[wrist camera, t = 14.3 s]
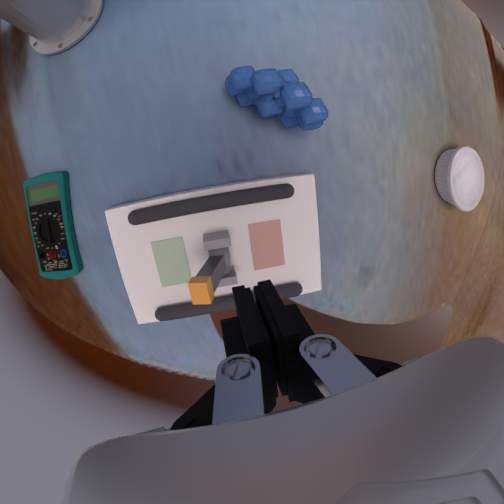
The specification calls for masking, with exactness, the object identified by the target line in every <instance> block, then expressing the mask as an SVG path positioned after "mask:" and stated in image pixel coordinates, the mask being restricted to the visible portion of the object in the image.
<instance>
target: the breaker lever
mask: <svg viewBox="0 0 504 504" xmlns="http://www.w3.org/2000/svg"><path fill="white" fill-rule="evenodd" d="M208 253H209V258H208V259H207V261H206V262H205V263H204V265H203V266H202V268H201V269H200V271H199V272H198V273H197V275H196V276H195V277H192V278H191V279H190V281H189V282H188V287H189V291H190V295H191V299H192V303H193V305H197V304H211V303H212V301H213V299H214V297H215V295H214V293H215V291H216V289H217V287H218V285H219V283H220V281H221V279H222V277H223V275H225V274H228V273H230V272H231V271H232V264H231V258H230V252H229V247H224V248H219V249H213V250H208Z"/></svg>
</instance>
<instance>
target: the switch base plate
mask: <svg viewBox="0 0 504 504" xmlns="http://www.w3.org/2000/svg"><path fill="white" fill-rule="evenodd" d="M284 183H289V184H291V185H292V186H293V187H294V194H293V196H292V197H290V198H287V199H280V200H273V201H267V202H260V203H254V204H247V205H241V206H235V207H229V208H224V209H218V210H212V211H207V212H201V213H196V214H190V215H185V216H180V217H175V218H170V219H165V220H160V221H155V222H150V223H145V224H140V225H131V224H130V223H129V221H128V214H129V213H130V212H131V211H133V210H137V209H141V208H146V207H150V206H155V205H160V204H165V203H170V202H175V201H180V200H185V199H190V198H196V197H201V196H207V195H212V194H218V193H224V192H230V191H236V190H242V189H249V188H256V187H262V186H269V185H277V184H284ZM105 215H106V219H107V223H108V228H109V232H110V235H111V239H112V243H113V247H114V251H115V254H116V258H117V261H118V265H119V268H120V271H121V274H122V278H123V281H124V284H125V287H126V290H127V293H128V296H129V299H130V302H131V305H132V308H133V311H134V313H135V316H136V319H137V322H138V324H144V323H151V322H157V321H159V320H157V319H156V317H155V311H156V310H157V309H158V308H161V307H168V306H174V305H180V304H186V303H191V302H192V299H191V295H190V291H189V287H188V282H189V281H190V279H191V278H192V277H195V276H196V275H197V273H198V272H199V271H200V269H201V268H202V266H203V265H204V263H205V262H206V261H207V259H208V258H209V253H208V250H213V249H219V248H224V247H229V252H230V258H231V264H232V271H231V272H230V273H228V274H225V275H223V277H222V279H221V281H220V283H219V285H218V287H217V289H216V291H215V293H214V295H215V297H214V298H219V297H225V296H230V295H233V292H232V287H236V286H241V285H244V286H245V288H248V287H250V289H251V291H254V289H253V286H257V282H260V281H265V280H269V279H270V280H271V282H272V284H273V285H274V287H276V286H281V285H286V284H291V283H299V284H301V286H302V289H303V290H302V293H301V294H306V293H310V292H314V291H319V290H321V265H320V245H319V228H318V213H317V201H316V189H315V178H314V174H310V173H300V174H291V175H283V176H275V177H267V178H260V179H253V180H246V181H240V182H233V183H227V184H221V185H215V186H209V187H204V188H198V189H193V190H187V191H182V192H177V193H172V194H167V195H162V196H157V197H153V198H148V199H144V200H139V201H135V202H130V203H126V204H122V205H118V206H114V207H111V208H109V209H107V210H106V211H105ZM301 294H300V295H301Z"/></svg>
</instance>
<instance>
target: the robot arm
mask: <svg viewBox="0 0 504 504" xmlns="http://www.w3.org/2000/svg"><path fill="white" fill-rule="evenodd" d="M102 8H103V0H0V18H1V19H3V20H5V21H7V22H8V23H10V24H12V25H13V26H15V27H17V28H18V29H20V30H22V31H23V32H25V33H27V34H28V35H30V38H29V41H30V45H31V47H32V49H33V50H34V51H35V52H37V53H39V54H41V55H54V54H58V53H61V52H63V51H65V50H67V49H69V48H71V47H72V46H74V45H75V44H76V43H78V42H79V41H80V40H81V39H83V38H84V37H85V36H86V35H87V34H88V33H89V32H90V30H91V29H92V28H93V27H94V25H95V24H96V22H97V21H98V19H99V17H100V15H101V12H102ZM253 289H254V295H255V299H254V297H253V294H252V292H251V289H250V287H248V288H245V286H244V285H241V286H236V287H232V292H233V297H234V302H235V307H236V312H237V317H232V318H228V319H223V320H221V327H222V333H223V339H224V345H225V351H226V357H227V358H225V359H224V360H222V361H221V362H220V364H219V365H218V367H217V372H216V383H215V385H214V386H213V387H212V388H211V389H209V390H208V391H207V392H206V393H205V394H204V395H203V396H202V397H201V398H200V399H199V400H198V401H197V402H196V403H195V404H194V405H193V406H192V407H190V408H189V409H188V410H187V411H186V412H185V413H184V414H183V415H182V416H181V417H180V418H178V419H177V420H176V421H175V423H174V424H173V425H172V427H171V428H168V429H165V428H164V427H160V428H157V429H153V430H150V431H145V432H142V433H137V434H133V435H128V436H122V437H117V438H113V439H109V440H106V441H103V442H100V443H97V444H95V445H92V446H90V447H88V448H87V449H85V450H83V451H82V452H81V453H80V454H79V455H78V456H77V457H76V458H75V460H74V462H73V463H72V465H71V468H70V470H69V473H68V477H67V479H66V483H65V488H64V492H63V497H62V503H61V504H504V343H502V342H500V341H499V340H497V339H495V338H492V337H488V336H481V337H473V338H467V339H464V340H461V341H457V342H455V343H452V344H450V345H447V346H445V347H443V348H441V349H439V350H437V351H435V352H433V353H431V354H428V355H426V356H424V357H422V358H418V359H415V360H411V361H406V362H404V363H403V365H402V366H401V365H399V364H397V363H393V362H389V361H384V360H379V359H374V358H369V357H364V356H359V355H355V354H352V353H351V352H350V351H349V350H348V349H347V348H346V347H345V346H344V345H343V344H342V343H341V342H339V341H338V340H337V339H336V338H334V337H333V336H330V335H324V334H318V335H315V334H314V333H313V331H312V329H311V328H310V326H309V325H308V323H307V321H306V320H305V318H304V317H303V315H302V313H301V312H300V310H299V309H298V307H297V305H296V304H290V305H286V306H285V305H284V303H283V301H282V300H281V298H280V296H279V294H278V293H277V291H276V289H275V287H274V285H273V284H272V282H271V280H270V279H269V280H265V281H260V282H257V286H253ZM255 301H256V302H255ZM276 381H277V382H276ZM277 383H278V386H279V389H280V391H281V394H282V396H284V395H287V396H288V399H289V401H290V402H292V401H298V402H301V403H302V405H298V406H295V407H291V408H287V409H284V410H280V411H276V412H272V413H270V412H271V411H272V410H273V408H274V407H275V406H276V398H277V397H278V390H277Z"/></svg>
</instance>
